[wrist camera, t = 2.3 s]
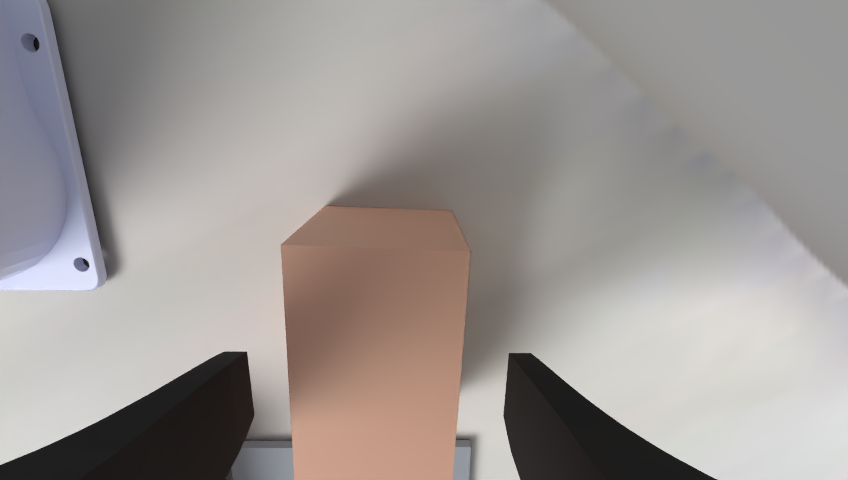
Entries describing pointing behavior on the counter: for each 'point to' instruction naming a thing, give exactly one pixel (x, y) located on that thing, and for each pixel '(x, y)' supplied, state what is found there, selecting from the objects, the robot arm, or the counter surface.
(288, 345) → the block
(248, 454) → the mat
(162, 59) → the counter surface
